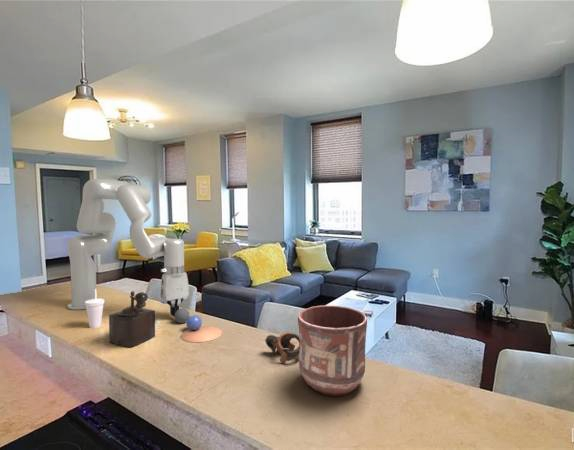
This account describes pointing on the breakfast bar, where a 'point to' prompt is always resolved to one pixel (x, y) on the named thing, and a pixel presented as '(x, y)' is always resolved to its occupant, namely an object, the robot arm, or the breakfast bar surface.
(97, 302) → the smoothie
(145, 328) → the brown coffee grinder
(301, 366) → the pottery
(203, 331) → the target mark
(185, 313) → the gray ball
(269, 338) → the brown curved piece
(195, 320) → the object ball
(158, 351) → the breakfast bar surface
